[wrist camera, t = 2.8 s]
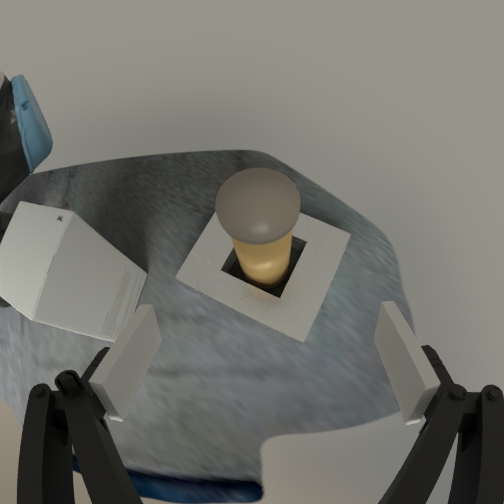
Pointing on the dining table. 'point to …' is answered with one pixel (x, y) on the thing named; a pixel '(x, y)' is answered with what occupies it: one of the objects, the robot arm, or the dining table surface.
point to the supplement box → (67, 273)
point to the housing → (256, 300)
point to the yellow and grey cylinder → (260, 222)
